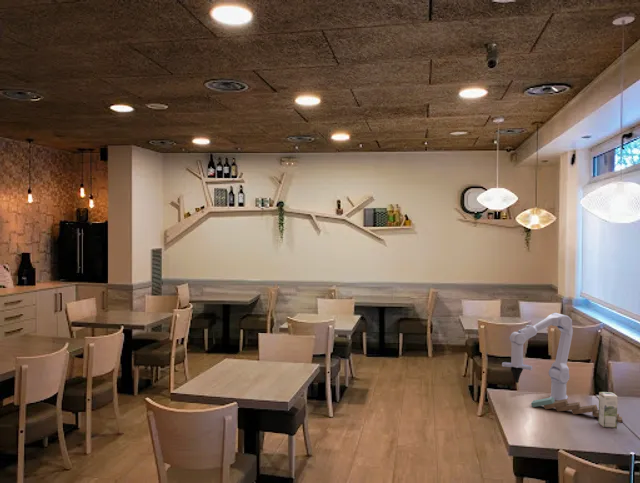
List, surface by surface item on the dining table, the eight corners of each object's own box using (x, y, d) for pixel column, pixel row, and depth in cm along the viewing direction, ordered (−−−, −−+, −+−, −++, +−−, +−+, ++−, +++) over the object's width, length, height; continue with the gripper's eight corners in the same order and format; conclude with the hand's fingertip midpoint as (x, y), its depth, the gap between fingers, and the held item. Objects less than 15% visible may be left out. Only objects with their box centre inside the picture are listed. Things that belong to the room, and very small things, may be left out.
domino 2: (545, 402, 268) (566, 398, 262) (547, 406, 267) (567, 402, 262) (543, 405, 264) (564, 401, 258) (545, 409, 263) (566, 405, 258)
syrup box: (611, 423, 245) (612, 391, 245) (617, 428, 239) (617, 395, 239) (598, 422, 245) (598, 391, 245) (603, 427, 240) (604, 395, 239)
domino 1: (533, 400, 271) (553, 396, 266) (534, 404, 271) (554, 401, 265) (530, 403, 267) (551, 399, 262) (532, 407, 266) (552, 403, 261)
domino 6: (597, 413, 255) (622, 416, 250) (597, 417, 255) (621, 421, 250) (597, 416, 251) (622, 420, 246) (597, 420, 251) (622, 424, 246)
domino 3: (557, 404, 265) (579, 402, 260) (559, 408, 265) (580, 406, 259) (555, 407, 261) (577, 404, 255) (557, 411, 260) (578, 409, 255)
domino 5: (595, 408, 255) (618, 413, 249) (595, 413, 255) (618, 418, 249) (592, 411, 251) (616, 416, 245) (592, 415, 251) (616, 421, 245)
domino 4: (575, 407, 261) (596, 404, 254) (576, 411, 260) (597, 408, 254) (571, 410, 257) (592, 407, 251) (573, 414, 257) (594, 411, 250)
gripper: (500, 355, 276) (500, 381, 277) (530, 359, 269) (530, 386, 269) (503, 352, 282) (503, 378, 283) (533, 356, 275) (532, 382, 275)
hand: (516, 382), depth 276 cm, fingers closed
